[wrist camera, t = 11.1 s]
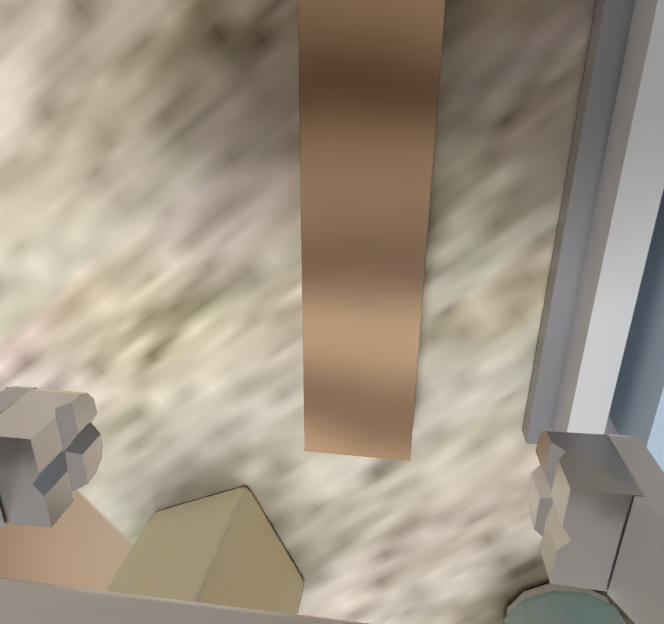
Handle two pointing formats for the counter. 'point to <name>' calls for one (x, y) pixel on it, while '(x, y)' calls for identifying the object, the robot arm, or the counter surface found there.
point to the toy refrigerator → (213, 557)
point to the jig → (602, 222)
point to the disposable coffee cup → (562, 607)
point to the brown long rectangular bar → (365, 215)
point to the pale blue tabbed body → (645, 356)
